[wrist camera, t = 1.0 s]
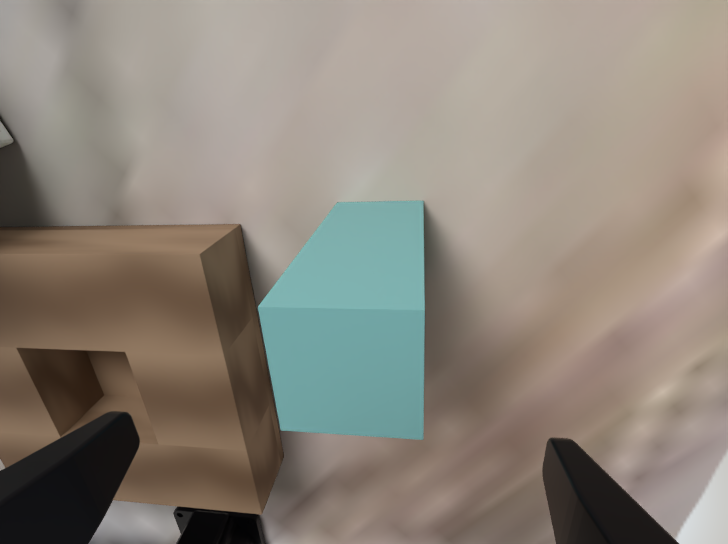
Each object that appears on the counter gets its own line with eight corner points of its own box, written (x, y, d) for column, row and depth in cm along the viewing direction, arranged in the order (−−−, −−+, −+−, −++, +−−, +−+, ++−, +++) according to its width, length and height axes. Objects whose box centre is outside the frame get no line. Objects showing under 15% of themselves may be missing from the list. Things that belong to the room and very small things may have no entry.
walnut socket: (283, 456, 26) (261, 514, 23) (70, 440, 29) (19, 490, 25) (240, 224, 20) (199, 254, 16) (-33, 227, 22) (-122, 254, 18)
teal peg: (422, 280, 20) (423, 439, 11) (343, 279, 20) (280, 430, 11) (423, 200, 18) (424, 310, 9) (337, 202, 19) (257, 307, 10)
